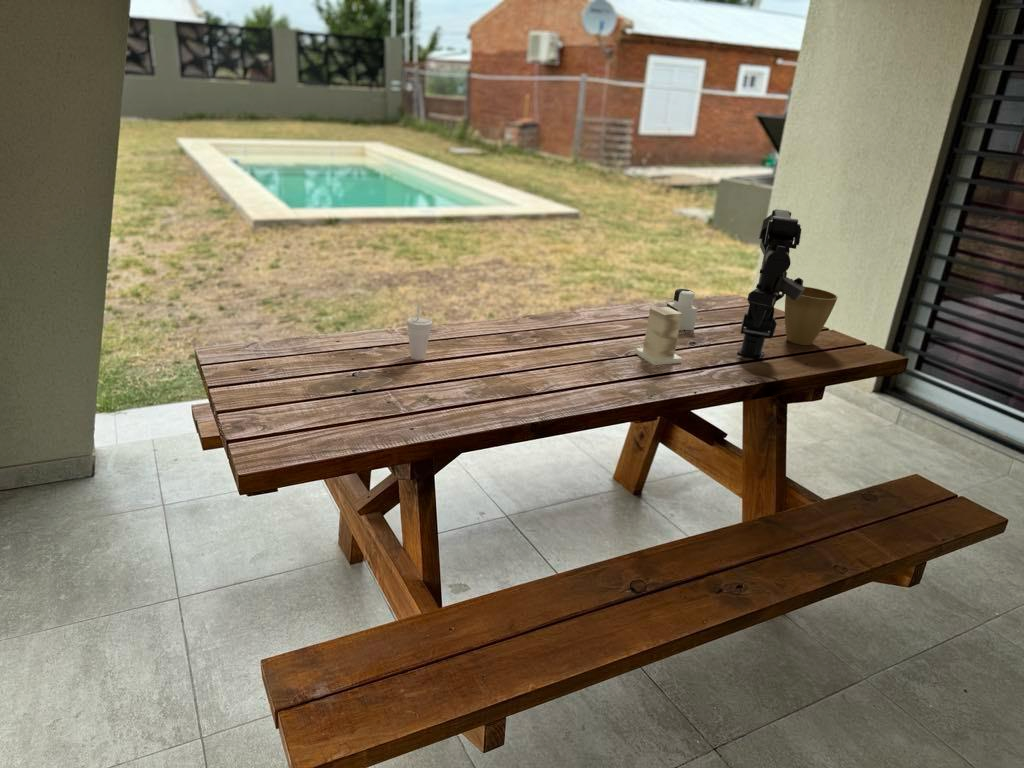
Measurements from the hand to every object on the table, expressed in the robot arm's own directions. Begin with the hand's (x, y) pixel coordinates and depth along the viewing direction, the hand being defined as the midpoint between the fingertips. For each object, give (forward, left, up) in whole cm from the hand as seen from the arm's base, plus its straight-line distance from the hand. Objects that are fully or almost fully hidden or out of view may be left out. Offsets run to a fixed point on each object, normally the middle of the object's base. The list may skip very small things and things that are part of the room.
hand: (761, 323), depth 199 cm
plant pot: (-37, +6, -13) cm, 40 cm away
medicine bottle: (-21, -28, -13) cm, 37 cm away
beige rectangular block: (+14, -22, -11) cm, 28 cm away
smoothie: (+58, -70, -13) cm, 92 cm away
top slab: (+14, -22, -12) cm, 29 cm away
